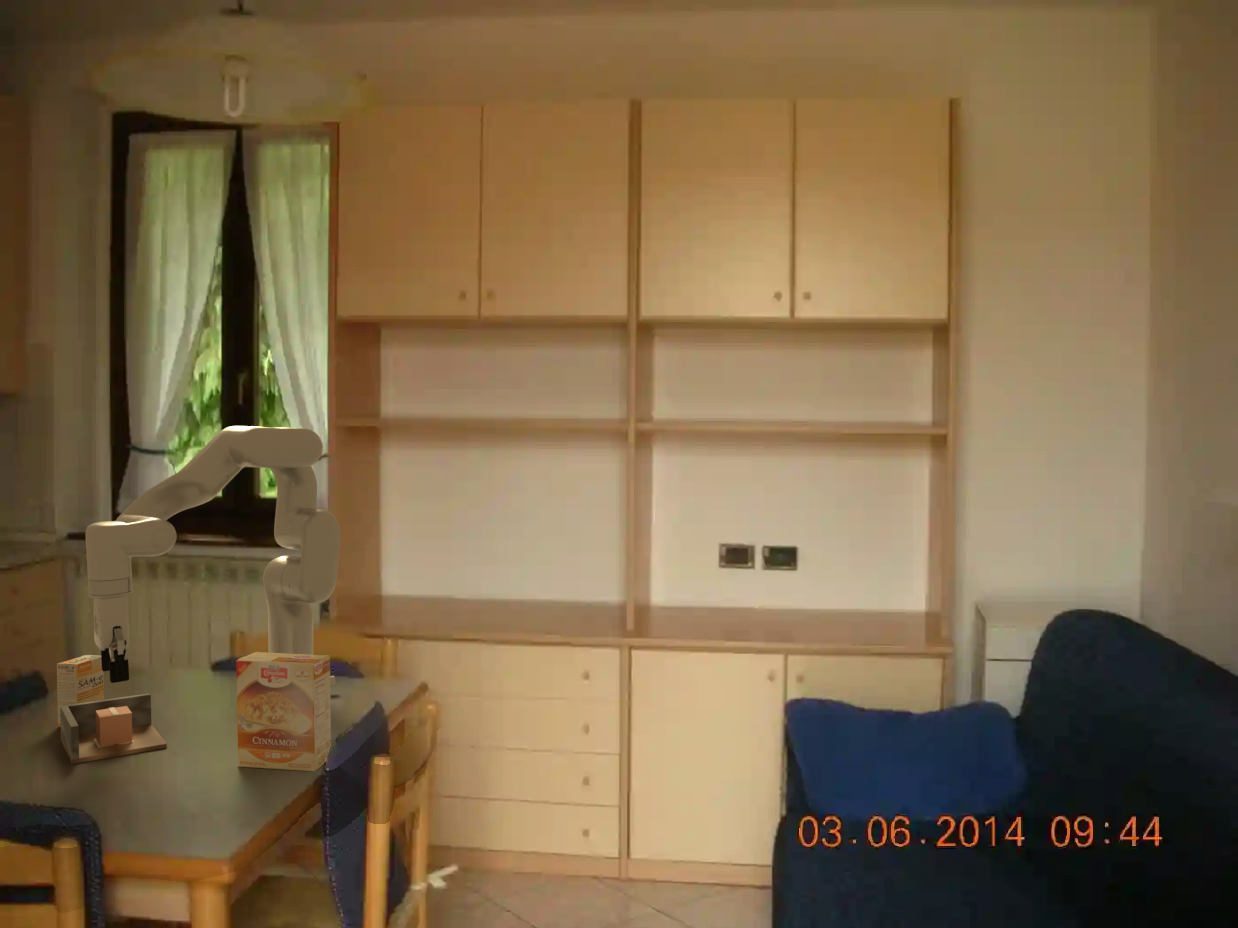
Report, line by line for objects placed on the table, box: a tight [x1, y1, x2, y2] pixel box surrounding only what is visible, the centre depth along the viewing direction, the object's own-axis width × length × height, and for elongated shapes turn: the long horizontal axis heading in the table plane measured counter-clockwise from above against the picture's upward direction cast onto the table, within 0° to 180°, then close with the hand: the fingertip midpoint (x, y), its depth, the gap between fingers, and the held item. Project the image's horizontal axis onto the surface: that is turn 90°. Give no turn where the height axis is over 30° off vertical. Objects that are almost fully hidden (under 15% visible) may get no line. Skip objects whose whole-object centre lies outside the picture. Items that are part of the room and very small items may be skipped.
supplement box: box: [56, 654, 105, 728], centre depth 213 cm, size 8×5×13 cm, turn 168°
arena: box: [60, 693, 168, 765], centre depth 199 cm, size 16×16×7 cm
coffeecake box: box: [235, 651, 332, 773], centre depth 188 cm, size 15×7×20 cm, turn 80°
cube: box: [96, 706, 132, 747], centre depth 198 cm, size 6×6×6 cm
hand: (115, 675), depth 198 cm, fingers open, 9 cm apart
